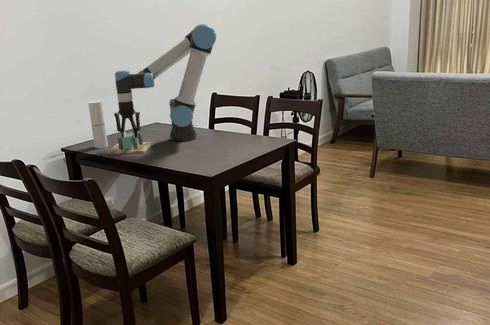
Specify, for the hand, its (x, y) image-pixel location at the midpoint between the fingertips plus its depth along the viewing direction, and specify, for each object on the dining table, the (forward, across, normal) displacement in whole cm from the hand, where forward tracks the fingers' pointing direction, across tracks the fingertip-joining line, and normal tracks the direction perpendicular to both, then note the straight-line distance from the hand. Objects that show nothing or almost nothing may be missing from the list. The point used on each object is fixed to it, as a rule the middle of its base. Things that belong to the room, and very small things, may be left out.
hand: (130, 143), depth 262 cm
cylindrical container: (+3, +19, -7) cm, 21 cm away
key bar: (+1, 0, 0) cm, 1 cm away
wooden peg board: (+3, 0, 0) cm, 3 cm away
